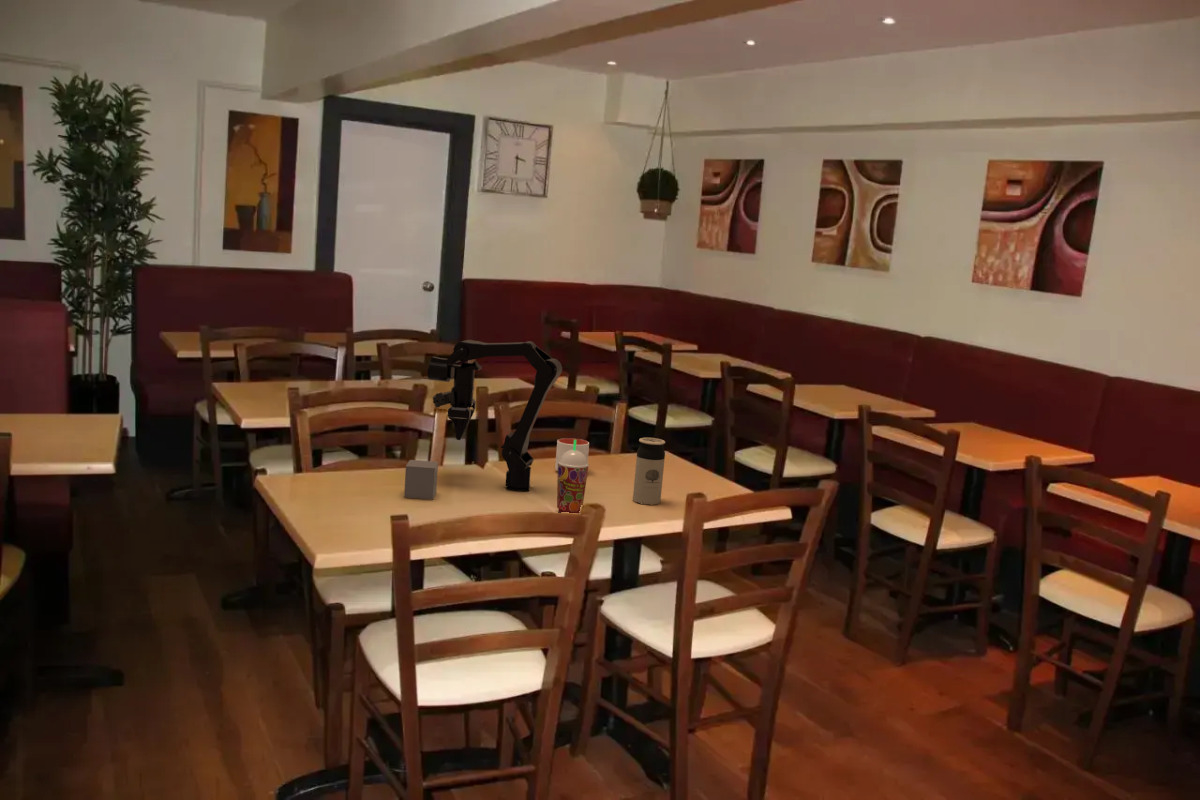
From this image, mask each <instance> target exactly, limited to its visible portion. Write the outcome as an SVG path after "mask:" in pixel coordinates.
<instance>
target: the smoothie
mask: <svg viewBox="0 0 1200 800" xmlns="http://www.w3.org/2000/svg"><path fill="white" fill-rule="evenodd" d="M589 466H590V463H589V461H588V462H587V459H586V457H585V455H584V454H583V453H582V452H580V451H578V450H576V440H574V445H573V450H569V451H566V452H565V453H564V454H563V455H562V456H561V458H560V460H559V461H558V472H557V479H556V482H557V488H556V491H557V492H556V493H557V494H556V495H557V496H556V507H557V509H558V512H569V513H579V511H580V507H581V505H583V506H584V499H585V493H586V487H587V479H588V471H589ZM580 512H581V511H580Z"/></svg>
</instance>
